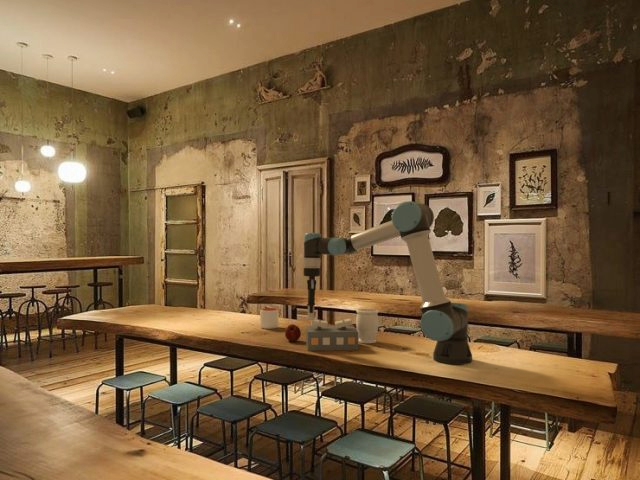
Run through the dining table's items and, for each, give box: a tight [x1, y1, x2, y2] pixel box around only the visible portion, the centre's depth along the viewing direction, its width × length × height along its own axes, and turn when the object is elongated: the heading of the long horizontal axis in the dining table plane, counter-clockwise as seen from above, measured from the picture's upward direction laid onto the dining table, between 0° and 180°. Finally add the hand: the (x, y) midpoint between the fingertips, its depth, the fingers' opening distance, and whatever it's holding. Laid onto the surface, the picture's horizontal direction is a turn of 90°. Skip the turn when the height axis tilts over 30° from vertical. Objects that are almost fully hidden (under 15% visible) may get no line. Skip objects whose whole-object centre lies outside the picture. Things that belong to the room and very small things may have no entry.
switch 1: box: [310, 318, 329, 327], centre depth 212 cm, size 5×7×2 cm
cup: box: [259, 307, 280, 330], centre depth 259 cm, size 10×10×10 cm
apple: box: [284, 324, 302, 342], centre depth 224 cm, size 7×8×8 cm
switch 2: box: [334, 318, 353, 328], centre depth 213 cm, size 5×7×2 cm
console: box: [305, 325, 359, 351], centre depth 212 cm, size 14×22×9 cm, turn 95°
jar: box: [355, 308, 380, 344], centre depth 223 cm, size 11×10×15 cm
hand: (310, 319), depth 212 cm, fingers closed
